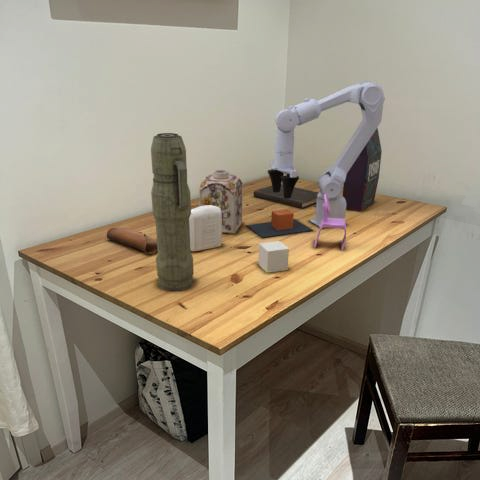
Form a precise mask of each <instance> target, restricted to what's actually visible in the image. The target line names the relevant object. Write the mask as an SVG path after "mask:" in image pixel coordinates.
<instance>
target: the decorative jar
mask: <svg viewBox="0 0 480 480" xmlns="http://www.w3.org/2000/svg"><path fill="white" fill-rule="evenodd" d="M198 196H199V199H198V202H199V203H198V204H199V207H200V206H205V205H213V206H217V207H219V208H220V209H221V213H222V234H228V235H229V234H230V235H236V233H237V232H238V230H239V228H240V227H241V225H242V223H243V182H242V180H241V178H240V177H238V176H237V175H235V174H232V173H231V174H230V172H229V170H227V169H214V170H213V174H208V175H205V176H203V178H202V180H201V183H200V186H199V188H198Z"/></svg>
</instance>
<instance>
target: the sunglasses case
mask: <svg viewBox="0 0 480 480" xmlns="http://www.w3.org/2000/svg"><path fill="white" fill-rule="evenodd" d="M106 239H108V240H112V241H115V242H119V243H122V244H123V245H127V246H130V247H132V248H135V249H137V250H140V251H142V252H145V253H147V254H148V255H152V254H155V253H158V248H157V239H155V238H153V237H151V236H148V235H147V234H146V233H144V232H142V231H139V230H134V229H130V228H126V227H111V228H109V229H108V230H107V232H106Z"/></svg>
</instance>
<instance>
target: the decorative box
mask: <svg viewBox="0 0 480 480" xmlns="http://www.w3.org/2000/svg"><path fill="white" fill-rule="evenodd" d="M378 127H379V126H378ZM378 127H377V129H376V130H375V132H374V133H373V135H372V136H371V138H370V139H369V141H368V142H367V144H366V145H365V147H364V148H363V150H362V151H361V153H360V154H359V156H358V157H357V159H356V160H355V162H354V164H353V165H352V167H351V168H350V170H349V171H348V173H347V175H346V179H345V182H344V184H343V185H342V196H343V197H344V198H345V200H346V210H350V211H355V212H362V211H363V210H365V209H366V208H368V207H369V206H370V205H372V204H373V203H374V202H375V198H376V194H377V189H378V185H379V179H380V170H381V161H382V152H383V151H382V145H381V140H380V133H379V128H378Z"/></svg>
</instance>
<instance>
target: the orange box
mask: <svg viewBox="0 0 480 480" xmlns="http://www.w3.org/2000/svg"><path fill="white" fill-rule="evenodd" d="M294 215H295V214H294V212H292V211H291V210H289V209H287V208H285V209H279V210H278V209H277V210H272V211H271V218H270V222H271V226H272V227H273V228H275V229H276V230H284V229H291V228H293V219H295V217H294Z"/></svg>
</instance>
